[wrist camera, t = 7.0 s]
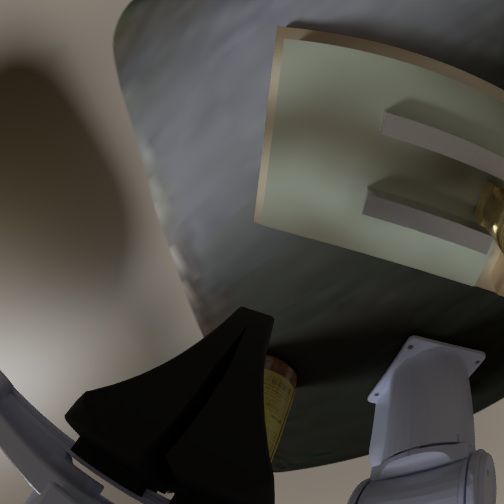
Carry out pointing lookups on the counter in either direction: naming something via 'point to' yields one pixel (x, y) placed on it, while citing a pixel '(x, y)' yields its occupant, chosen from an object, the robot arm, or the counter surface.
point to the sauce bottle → (277, 398)
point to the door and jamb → (374, 149)
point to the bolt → (492, 211)
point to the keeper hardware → (425, 215)
